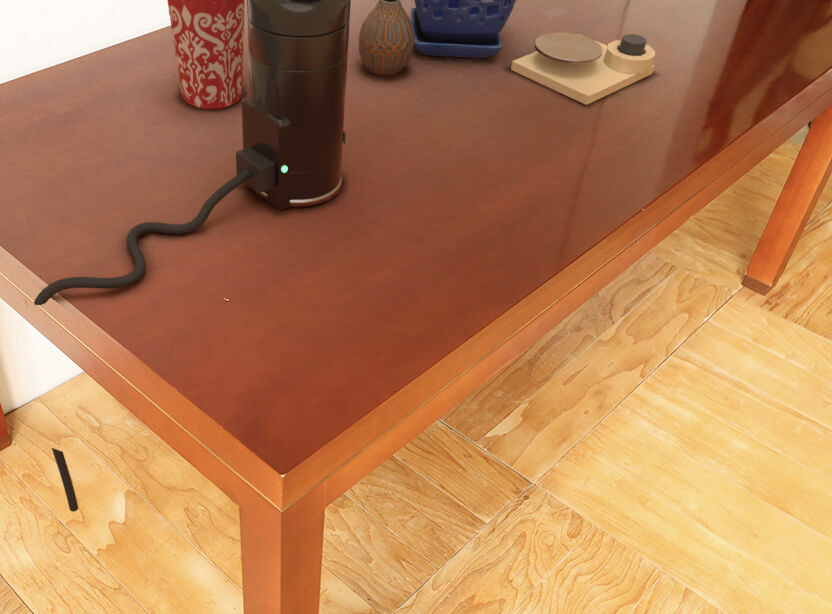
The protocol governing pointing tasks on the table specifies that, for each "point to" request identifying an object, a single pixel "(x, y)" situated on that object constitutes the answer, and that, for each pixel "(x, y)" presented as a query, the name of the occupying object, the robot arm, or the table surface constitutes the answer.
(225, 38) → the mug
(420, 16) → the flower pot
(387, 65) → the vase
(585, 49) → the weighing plate
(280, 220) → the table surface
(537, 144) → the table surface
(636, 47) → the tare button
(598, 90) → the scale
